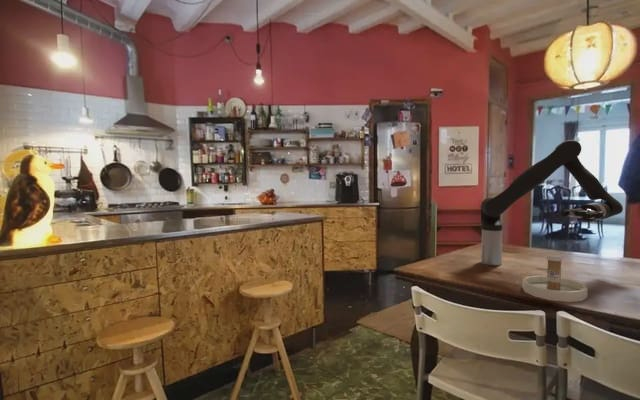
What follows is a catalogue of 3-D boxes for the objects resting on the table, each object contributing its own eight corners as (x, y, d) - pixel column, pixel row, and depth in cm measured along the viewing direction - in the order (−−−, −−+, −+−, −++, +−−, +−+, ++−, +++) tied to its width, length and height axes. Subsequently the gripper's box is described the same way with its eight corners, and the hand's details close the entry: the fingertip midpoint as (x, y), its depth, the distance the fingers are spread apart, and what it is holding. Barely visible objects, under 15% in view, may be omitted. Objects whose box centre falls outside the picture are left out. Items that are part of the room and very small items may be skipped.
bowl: (527, 298, 131) (527, 288, 130) (519, 282, 149) (520, 274, 149) (593, 304, 123) (594, 294, 123) (577, 287, 141) (577, 278, 141)
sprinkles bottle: (545, 290, 136) (546, 255, 135) (547, 287, 139) (548, 253, 138) (560, 292, 133) (561, 256, 132) (561, 289, 136) (562, 254, 135)
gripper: (573, 202, 160) (555, 204, 151) (612, 204, 148) (595, 207, 139) (572, 219, 160) (555, 222, 152) (611, 222, 148) (595, 226, 140)
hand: (574, 215), depth 145 cm, fingers open, 8 cm apart
